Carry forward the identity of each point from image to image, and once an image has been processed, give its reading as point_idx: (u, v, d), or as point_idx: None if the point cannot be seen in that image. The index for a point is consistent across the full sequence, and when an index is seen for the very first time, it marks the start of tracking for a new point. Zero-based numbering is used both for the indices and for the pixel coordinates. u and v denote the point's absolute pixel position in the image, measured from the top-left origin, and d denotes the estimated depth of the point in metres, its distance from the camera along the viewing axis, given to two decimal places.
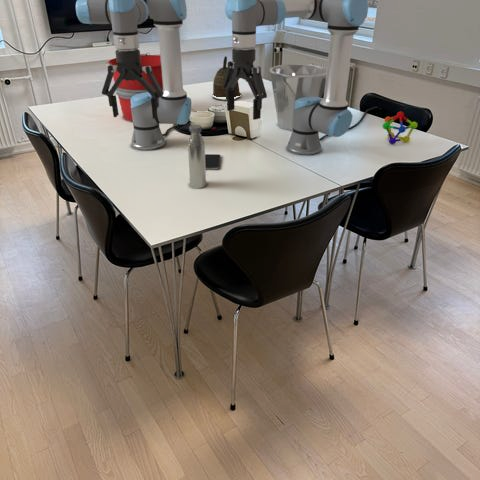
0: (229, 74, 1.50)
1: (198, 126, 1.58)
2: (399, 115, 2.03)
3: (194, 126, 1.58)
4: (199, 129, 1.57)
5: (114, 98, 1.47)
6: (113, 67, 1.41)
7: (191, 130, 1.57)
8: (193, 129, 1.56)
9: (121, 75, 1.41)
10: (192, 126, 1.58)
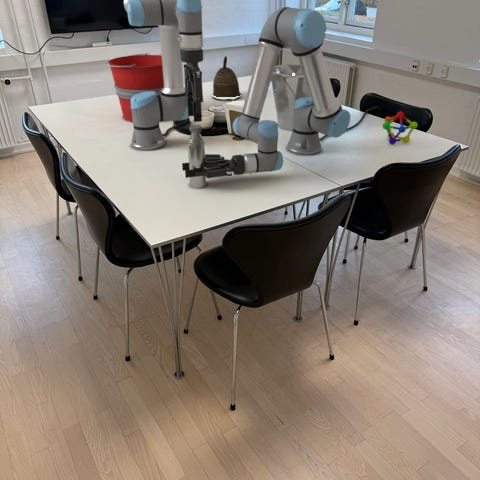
0: None
1: (198, 126, 1.58)
2: (399, 115, 2.03)
3: (194, 126, 1.58)
4: (199, 129, 1.57)
5: (191, 99, 1.56)
6: None
7: (191, 130, 1.57)
8: (193, 129, 1.56)
9: (186, 73, 1.49)
10: (192, 126, 1.58)
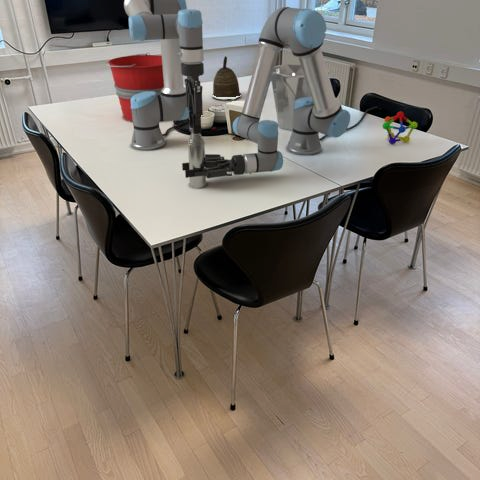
0: None
1: None
2: (399, 115, 2.03)
3: None
4: None
5: (192, 113, 1.57)
6: (187, 79, 1.54)
7: (191, 130, 1.57)
8: None
9: (187, 86, 1.51)
10: (192, 126, 1.58)
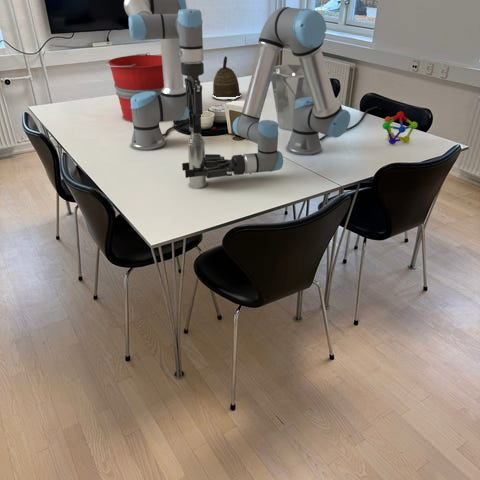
0: None
1: None
2: (399, 115, 2.03)
3: None
4: None
5: (192, 113, 1.57)
6: None
7: None
8: None
9: (187, 85, 1.51)
10: None
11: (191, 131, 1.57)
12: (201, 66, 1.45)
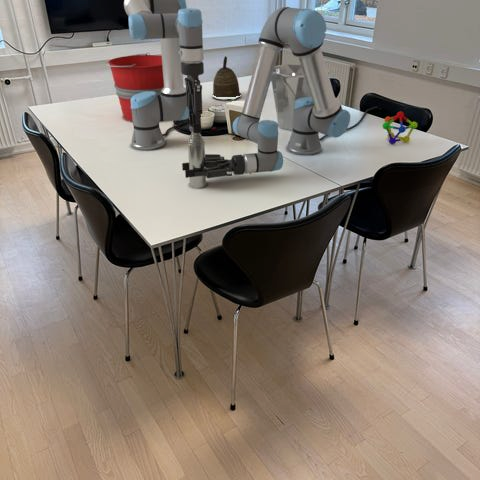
0: None
1: (192, 126, 1.57)
2: (399, 115, 2.03)
3: None
4: None
5: (192, 112, 1.57)
6: None
7: None
8: None
9: (187, 85, 1.51)
10: None
11: None
12: (201, 66, 1.45)
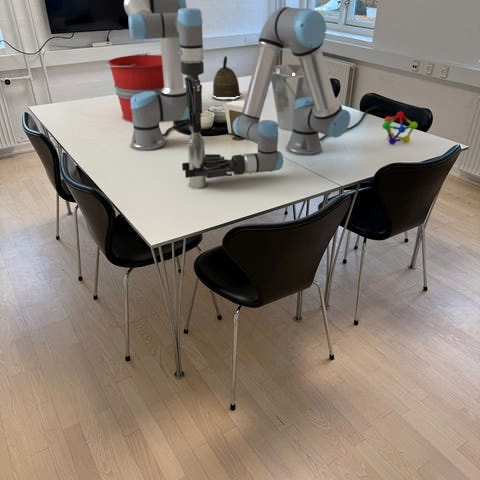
0: None
1: None
2: (399, 115, 2.03)
3: None
4: None
5: (192, 112, 1.57)
6: None
7: (189, 128, 1.58)
8: (190, 127, 1.57)
9: (187, 85, 1.51)
10: None
11: None
12: (201, 65, 1.45)
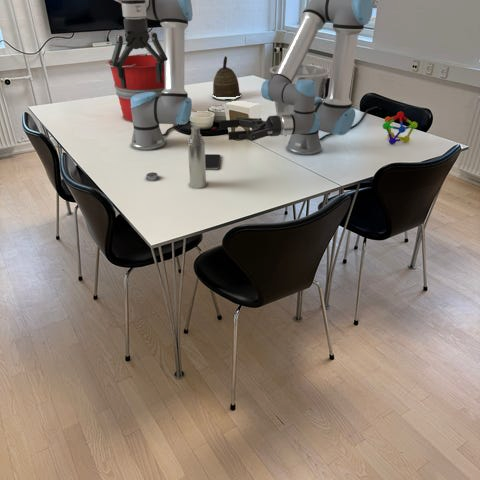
0: None
1: (153, 173, 1.75)
2: (399, 115, 2.03)
3: (151, 174, 1.74)
4: None
5: None
6: (123, 37, 1.44)
7: (153, 178, 1.73)
8: (156, 176, 1.73)
9: (133, 44, 1.46)
10: (150, 175, 1.73)
11: None
12: None
